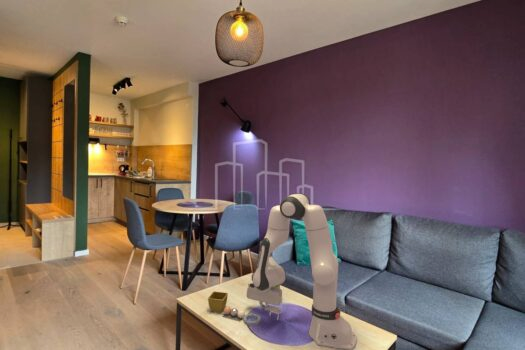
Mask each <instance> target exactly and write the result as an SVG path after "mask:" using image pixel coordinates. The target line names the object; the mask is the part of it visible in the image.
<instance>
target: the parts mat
mask: <svg viewBox="0 0 525 350" xmlns="http://www.w3.org/2000/svg"><path fill="white" fill-rule="evenodd" d="M221 317H222V318H225V319H228V320H232V321H237V322H239V323H240V322H241V321H243V318H239V317H238V315H237V316H232V315H231V313H230V314H228V315H226V314H225V313H224V314H223V315H222V316H221Z"/></svg>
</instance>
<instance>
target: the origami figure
mask: <svg viewBox="0 0 525 350" xmlns="http://www.w3.org/2000/svg"><path fill="white" fill-rule="evenodd" d="M266 311H267V313H268V312H269V311H270V312H269V313H268V314H269V317H270V318H272V316H271V314H272V313H274V314H277V317H276V320H277V321H278V320H279V319H280V318H279V316H280V314H281V313H283V310H281V309H280V307H279V306H276V305H272V304H268V305H267V309H266Z"/></svg>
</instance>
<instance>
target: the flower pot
mask: <svg viewBox="0 0 525 350" xmlns="http://www.w3.org/2000/svg"><path fill="white" fill-rule="evenodd" d="M228 294H229V293H228V292H223V291H214V290H213V292H212V293H210V295H209V296H208V298H207V301H208V308H209V310H210V311H211V312H212V313H213V312H215V313H219V314H220V313H221V314H222V313H223V312H224V308H225V307H227V306H226V305H227V302H228V297H229V296H228Z"/></svg>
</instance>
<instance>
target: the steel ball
mask: <svg viewBox="0 0 525 350" xmlns="http://www.w3.org/2000/svg"><path fill="white" fill-rule="evenodd" d="M238 311H239V310H238V309H237V308H235V307H234V308H231V312H230V313H231V315H232V316H237V313H238Z"/></svg>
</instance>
